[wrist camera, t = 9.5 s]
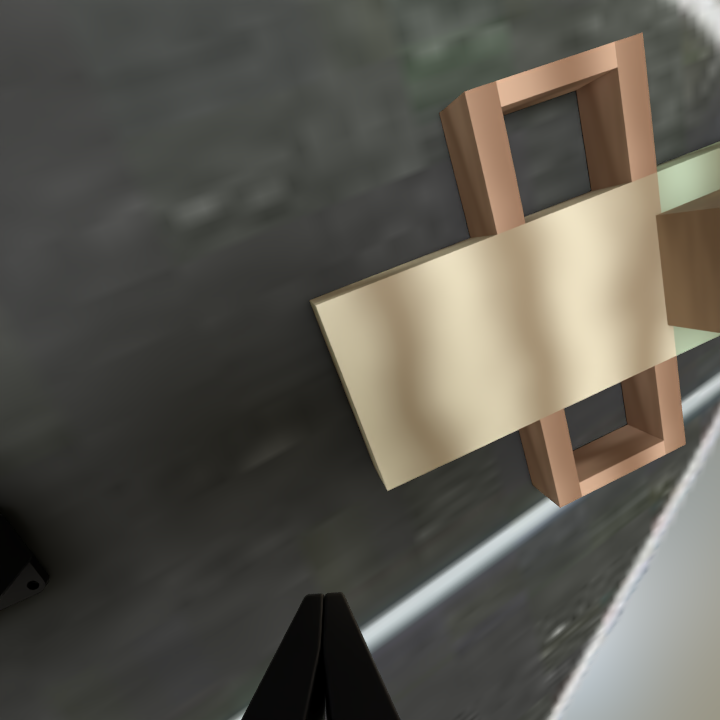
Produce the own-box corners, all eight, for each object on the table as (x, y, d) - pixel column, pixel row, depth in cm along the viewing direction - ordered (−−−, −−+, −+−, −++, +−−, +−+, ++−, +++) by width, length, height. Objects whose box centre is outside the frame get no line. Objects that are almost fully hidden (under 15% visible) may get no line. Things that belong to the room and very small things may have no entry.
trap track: (405, 547, 24) (421, 578, 22) (259, 173, 18) (258, 159, 15) (742, 381, 28) (787, 392, 25) (723, 17, 21) (781, -14, 19)
